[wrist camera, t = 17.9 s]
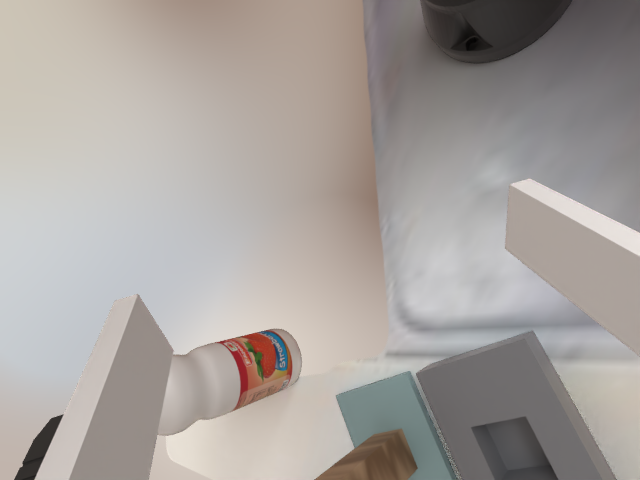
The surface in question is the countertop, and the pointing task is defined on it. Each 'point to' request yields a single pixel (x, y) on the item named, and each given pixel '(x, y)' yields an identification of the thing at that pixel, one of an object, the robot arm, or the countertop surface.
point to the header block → (511, 415)
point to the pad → (397, 422)
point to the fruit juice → (227, 377)
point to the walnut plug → (376, 460)
